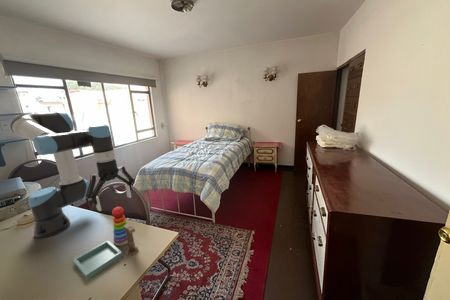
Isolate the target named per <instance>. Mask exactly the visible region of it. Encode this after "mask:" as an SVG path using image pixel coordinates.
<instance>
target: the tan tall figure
mask: <svg viewBox="0 0 450 300" xmlns="http://www.w3.org/2000/svg"><path fill="white" fill-rule="evenodd" d="M123 227H124V229H125V231H126V236H127V241H128V243H127V245H128V249H127V252H126V253H127V256H134V255H136V254H137V253H138V252H139V248H138V247H137V246H136V245H135V240H134V236H133V233H135V232H136V228H135V227H133V226H132V225H131V224H129V223H127V224H126V225H124V226H123Z"/></svg>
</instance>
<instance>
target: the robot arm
mask: <svg viewBox="0 0 450 300" xmlns="http://www.w3.org/2000/svg"><path fill="white" fill-rule="evenodd" d="M9 126H10V127H9V128H10V129H11V131H12V133H13V134H14V135H16V136H18V137H20V138H23V139H28V140H29V141H31V142H33V143H32V145H33V148H34V149H35V151H36V152H37V154H38V155H41V156H46V155H53V157H54V160H55V161H54V162H55V164H56V167H57V171H58V174H59V177H60V181H59V183H58V186H59V187H55V186H49V187H44V188H42V189H38V190H37V191H35V192H33V193H32V194H30V195H29V196H28V198H27V199H28V200H27V201H28V206H29V208H30V211H31V213H32V218H33V219H34V227H33V228H34V230H33V235H34V237H35V238H37V239H43V238H48V237H53V236H55V235H58V234H60V233H61V232H63V231H64V230H65V231H66V229H67V228H68V227H70V225H71V222H70V218H69V217H68V216H66V214H65V213H64V212H63V211H64V210H63V208H65V207H68V206H71V205H73V204H75V203H78V202H81V201H83V200H85V199H88V200H90V199H91V200H92V201H91V203H92V204H93V205H94V206H95V207H96V210H97V211H99V212H101V211H102V205H101V202H100V198H99V196H98V194H99V193H100V191H101V189H102V188H103V186H104V184H105V183H106V182H109V181H111V180H115V179H116V178H117V179H118V180H120V181H121V182H123V183H125V185H124V187H125V191H126V197H127V198H129V199H131V198H132V193H131V191H132V185H133V183H134V182H135V179H134V178H133V177H132V175H130V174H129V173H128V172H127V169H126V167H125V166H122V165H120V166H119V167H118V163H117V159H116V154H115V150H114V145H113V144H114V143H113V141H112V140H113V139H112V133H111V131H110V127H109V125H108V124H98V125H89V127H88V128H85V129H80V130H75V131H74V129H75V127H74V126H75V125H74V123H73V121H72V118H71V116H70V115H69V114H68V113H67V112H65V111H61V110H60V111H58V110H57V111H56V110H55V111H54V110H53V111H40V112H39V111H37V112H26V113H21V114H19V115H17V116H16V117H14V118H12V120H11V122H10V125H9ZM88 147H92V151H93V155H94V160H95V162H96V164H95V165H96V169H97V173H95V174H92V173H91V174H90V175H89V177H90V181H88V180H87V179H84V177H83V176H80V172H79V170H78V166H77V162H76V159H75V155H74V151H73V150H77V149H82V148H88ZM119 172H121V173H122V174H123V175H124V176H125V177H126V178H124V177H123V176H121V175H120V174H118V173H119ZM98 178H99V179H98ZM97 180H98V182H97ZM96 182H97V184H96Z"/></svg>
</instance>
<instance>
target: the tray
mask: <svg viewBox="0 0 450 300" xmlns="http://www.w3.org/2000/svg"><path fill="white" fill-rule="evenodd" d="M123 257H124V254H123V252H122V250H120V248H118V246H115V245H114V243H112V242H111V241H110V240H108V239H107V240H106V241H104V242H102V243H99V245H96V246H95V247H93V248H91V249H89V250H88V251H85V252H84V253H83V254H81V255H79V256H77V257H75V258H73V259H72V260H73V264H74V265H75V267H76V268H77V270H78V271H79V272H80V273H81V275H82V276H83V277H84V279H85V280H86V281H89V280H90V279H92V278H93V277H95V276H97V275H98V274H99V273H100V272H102V271H104V270H106V269H107V268H108V267H109V266H111V265H113V264H114V263H115V262H117V261H118V260H120V259H122V258H123Z"/></svg>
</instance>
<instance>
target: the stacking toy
mask: <svg viewBox="0 0 450 300" xmlns="http://www.w3.org/2000/svg"><path fill="white" fill-rule="evenodd" d="M124 213H125V209H124V208H123V207H122V206H116V207H115V208H113V209H112V212H111V215H112V217H113V218H112V221H113V223H112V225H113V226H112V227H113V239H112V240H113V245H114V246H116V247H122V246H125V245H126V246H127V245H128V241H127V236H126V231H125V229H124V227H123V226H124V225H126V224H128V222H127V219H126V216H125V215H124Z"/></svg>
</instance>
